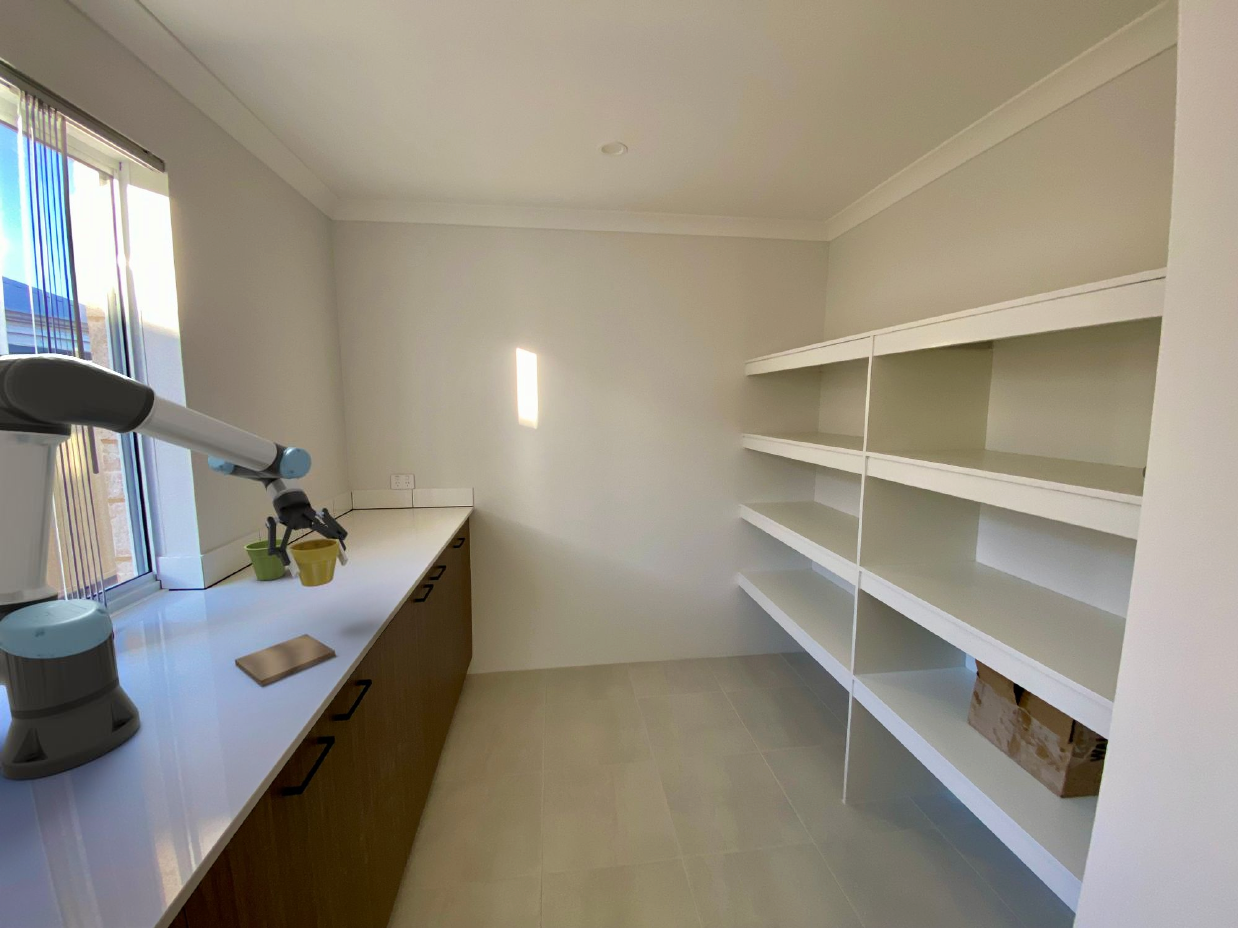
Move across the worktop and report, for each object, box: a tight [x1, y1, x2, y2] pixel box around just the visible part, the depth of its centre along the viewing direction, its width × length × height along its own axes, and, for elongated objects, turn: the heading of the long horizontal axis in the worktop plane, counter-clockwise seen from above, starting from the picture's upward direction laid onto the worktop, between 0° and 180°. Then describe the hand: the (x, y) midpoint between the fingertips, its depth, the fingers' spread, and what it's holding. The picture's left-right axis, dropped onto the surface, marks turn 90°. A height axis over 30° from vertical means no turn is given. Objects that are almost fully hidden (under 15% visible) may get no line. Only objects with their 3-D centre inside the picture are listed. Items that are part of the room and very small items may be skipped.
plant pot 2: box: [289, 538, 340, 588], centre depth 119 cm, size 10×10×10 cm
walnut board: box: [234, 633, 336, 687], centre depth 105 cm, size 14×14×1 cm
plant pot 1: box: [243, 537, 290, 582], centre depth 155 cm, size 12×12×11 cm
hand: (321, 568), depth 117 cm, fingers closed on plant pot 2, 10 cm apart
